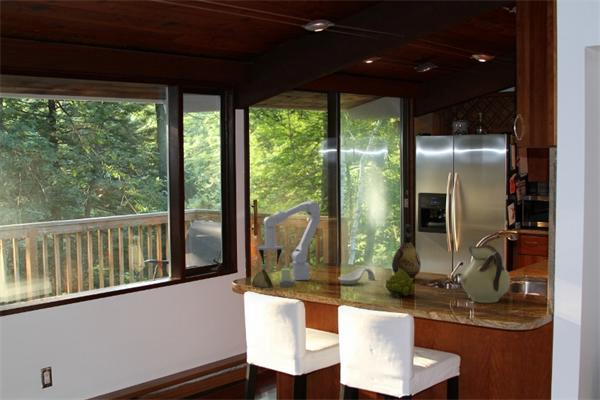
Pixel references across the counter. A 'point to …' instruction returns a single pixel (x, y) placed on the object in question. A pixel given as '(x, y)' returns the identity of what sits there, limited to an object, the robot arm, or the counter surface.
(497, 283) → the pitcher
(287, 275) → the block
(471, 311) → the counter surface
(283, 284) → the trivet
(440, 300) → the counter surface
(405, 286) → the vegetable
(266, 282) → the rock
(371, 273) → the spoon rest
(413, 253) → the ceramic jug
